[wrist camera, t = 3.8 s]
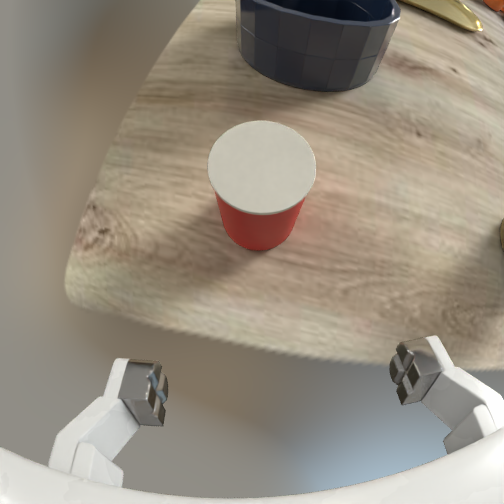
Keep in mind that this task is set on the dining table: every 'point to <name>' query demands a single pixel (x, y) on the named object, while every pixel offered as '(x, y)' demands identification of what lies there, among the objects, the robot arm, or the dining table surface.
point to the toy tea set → (495, 4)
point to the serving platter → (450, 12)
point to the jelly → (260, 181)
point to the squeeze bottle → (502, 233)
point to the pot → (316, 40)
